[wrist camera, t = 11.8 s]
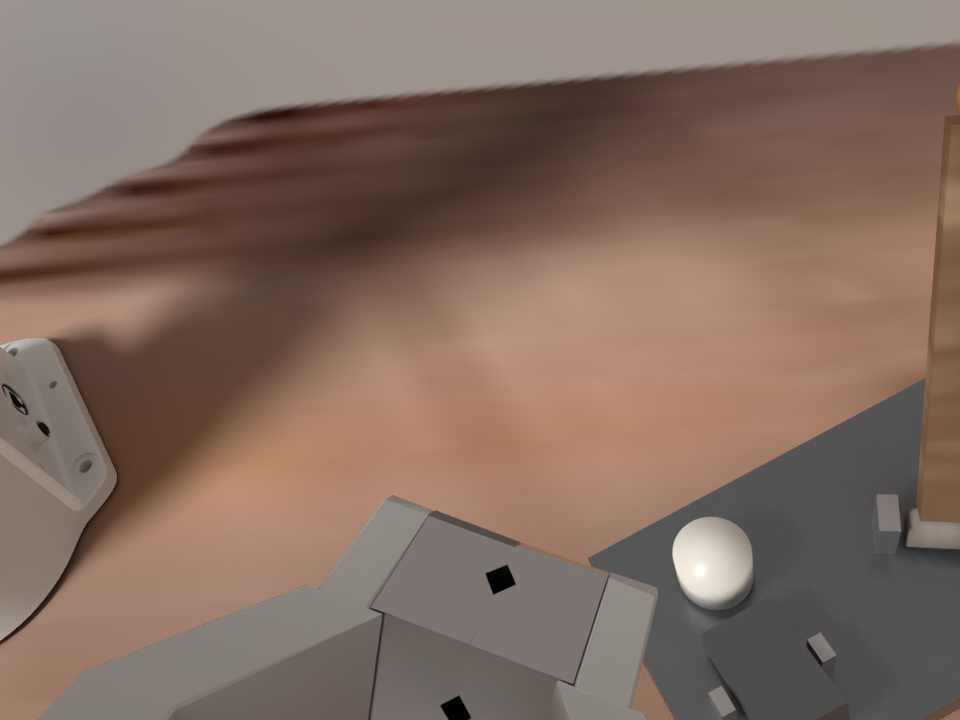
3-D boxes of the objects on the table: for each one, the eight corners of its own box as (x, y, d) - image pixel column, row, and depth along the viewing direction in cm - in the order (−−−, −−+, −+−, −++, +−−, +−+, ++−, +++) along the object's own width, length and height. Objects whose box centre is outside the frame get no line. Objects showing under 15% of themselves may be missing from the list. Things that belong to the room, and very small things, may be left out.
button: (663, 560, 40) (658, 539, 38) (727, 526, 40) (724, 503, 38) (702, 623, 38) (698, 604, 36) (768, 587, 38) (768, 566, 36)
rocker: (705, 650, 37) (699, 634, 36) (773, 614, 37) (769, 596, 36) (774, 759, 33) (770, 744, 32) (850, 719, 33) (847, 702, 33)
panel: (596, 577, 43) (578, 537, 39) (958, 384, 44) (975, 325, 40) (735, 830, 36) (730, 811, 32) (1168, 594, 37) (1214, 548, 33)
